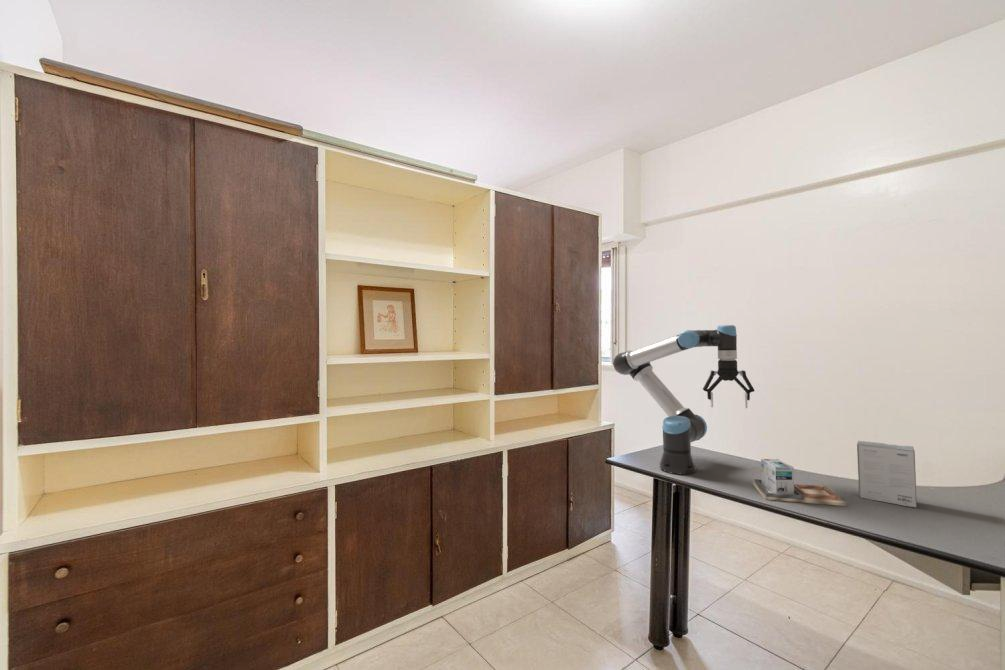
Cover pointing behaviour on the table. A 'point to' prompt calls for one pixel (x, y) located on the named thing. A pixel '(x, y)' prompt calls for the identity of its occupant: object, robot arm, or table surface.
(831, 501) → the sorting board
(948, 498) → the table surface
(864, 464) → the hard drive box
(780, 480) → the light bulb box
